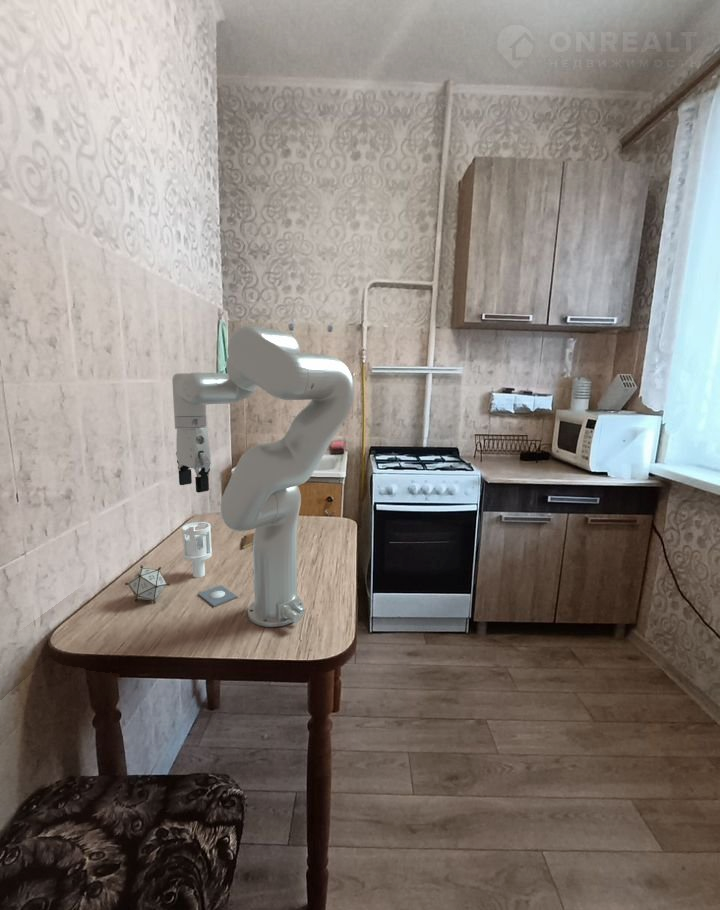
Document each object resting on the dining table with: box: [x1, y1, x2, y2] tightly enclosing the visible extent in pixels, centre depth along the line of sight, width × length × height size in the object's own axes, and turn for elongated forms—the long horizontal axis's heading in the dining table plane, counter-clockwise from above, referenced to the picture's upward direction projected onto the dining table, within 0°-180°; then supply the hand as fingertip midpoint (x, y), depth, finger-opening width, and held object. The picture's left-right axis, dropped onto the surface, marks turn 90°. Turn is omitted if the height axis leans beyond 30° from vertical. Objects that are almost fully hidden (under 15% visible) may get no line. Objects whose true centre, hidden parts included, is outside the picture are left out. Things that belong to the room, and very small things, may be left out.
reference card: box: [197, 584, 238, 608], centre depth 101 cm, size 8×6×1 cm
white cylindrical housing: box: [181, 521, 213, 579], centre depth 111 cm, size 7×7×15 cm
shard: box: [241, 531, 255, 550], centre depth 136 cm, size 11×8×2 cm
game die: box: [124, 565, 172, 604], centre depth 98 cm, size 9×8×10 cm
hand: (193, 487), depth 108 cm, fingers open, 9 cm apart
